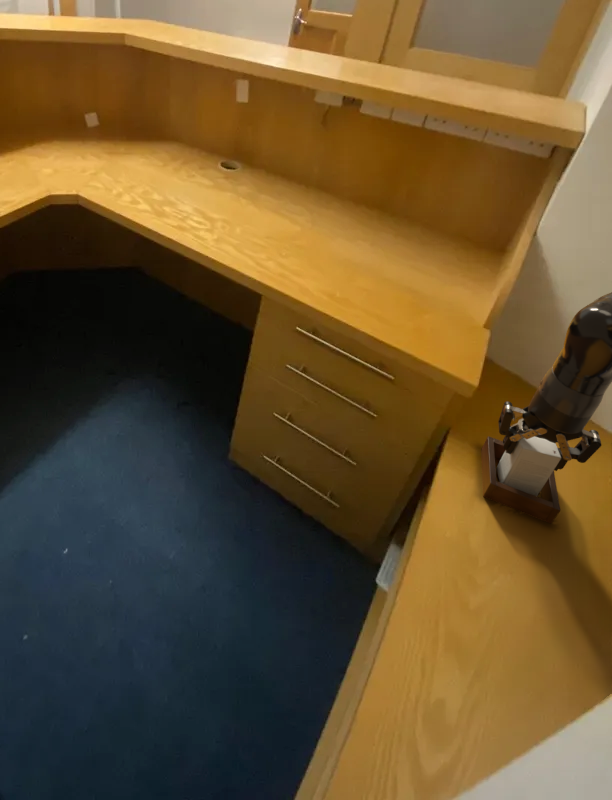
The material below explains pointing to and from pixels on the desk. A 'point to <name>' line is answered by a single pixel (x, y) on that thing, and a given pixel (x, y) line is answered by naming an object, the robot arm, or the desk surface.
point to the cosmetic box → (529, 465)
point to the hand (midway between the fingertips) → (530, 457)
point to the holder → (513, 497)
